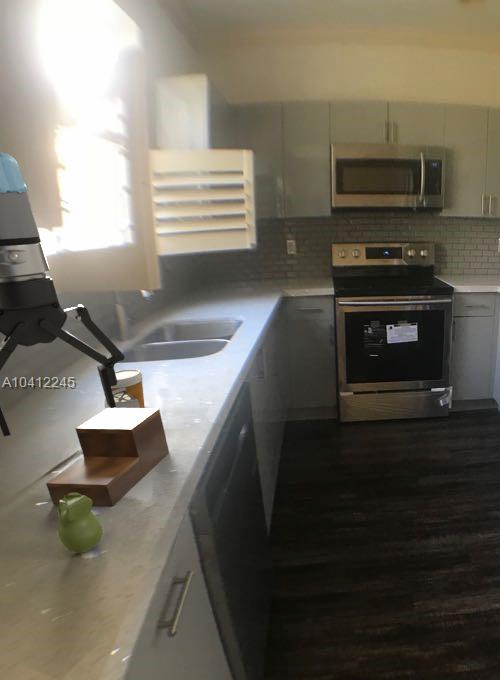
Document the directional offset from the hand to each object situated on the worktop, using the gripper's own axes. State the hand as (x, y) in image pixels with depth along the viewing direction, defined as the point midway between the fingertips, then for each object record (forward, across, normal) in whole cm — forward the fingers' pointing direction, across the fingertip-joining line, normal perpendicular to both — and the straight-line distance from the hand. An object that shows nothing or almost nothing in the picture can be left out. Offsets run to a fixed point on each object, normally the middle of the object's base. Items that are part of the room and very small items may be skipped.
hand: (62, 418), depth 70 cm
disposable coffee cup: (+22, +18, +49) cm, 57 cm away
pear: (+22, -2, -3) cm, 22 cm away
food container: (+22, +14, +39) cm, 46 cm away
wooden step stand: (+22, +7, +18) cm, 29 cm away
